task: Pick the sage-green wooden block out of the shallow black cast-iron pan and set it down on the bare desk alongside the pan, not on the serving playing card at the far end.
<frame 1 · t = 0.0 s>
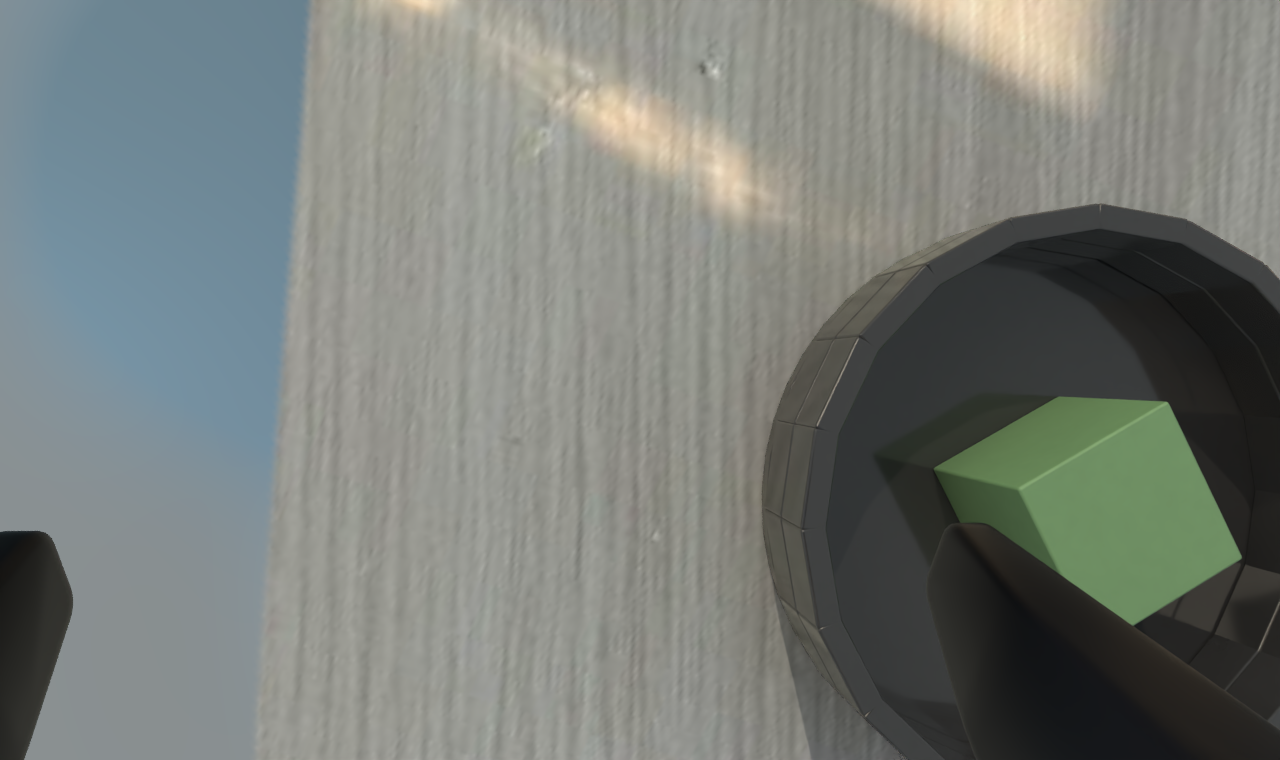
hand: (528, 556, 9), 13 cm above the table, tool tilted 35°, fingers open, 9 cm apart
pan: (1018, 495, 24), on the table
block: (1076, 510, 21), in the pan
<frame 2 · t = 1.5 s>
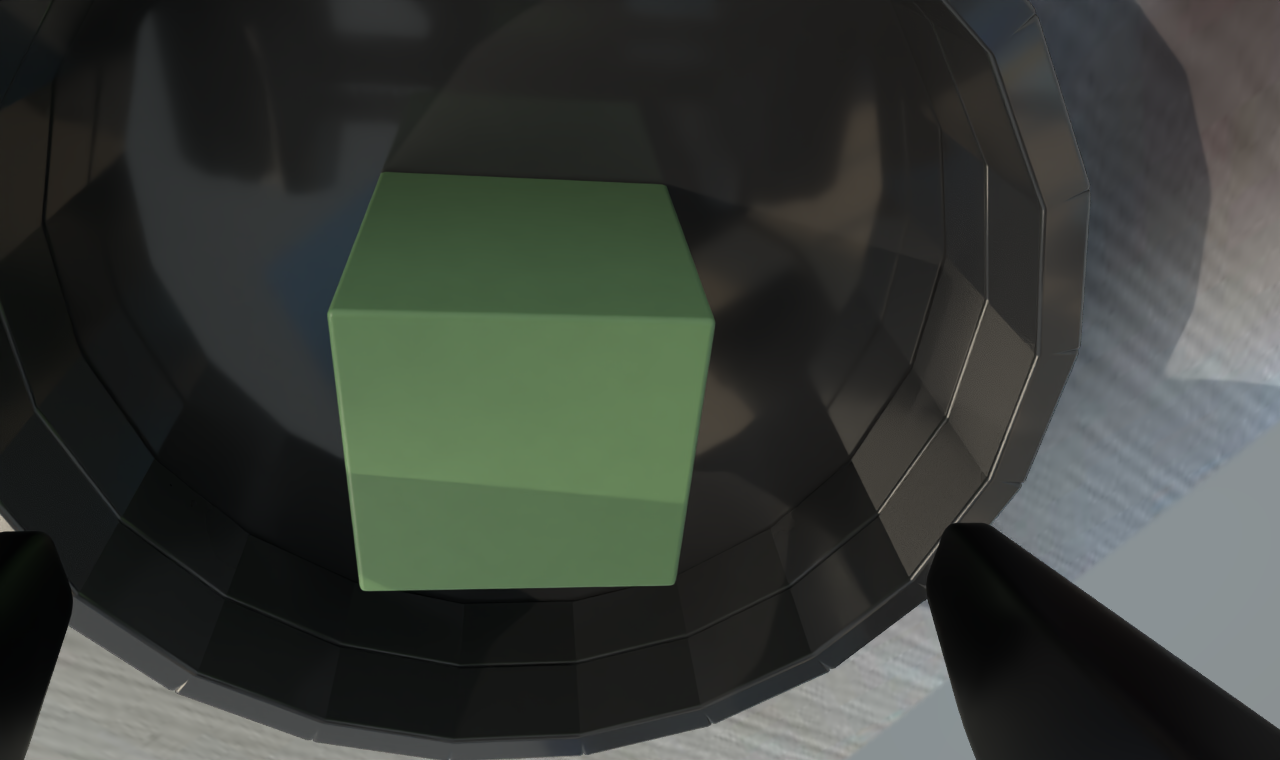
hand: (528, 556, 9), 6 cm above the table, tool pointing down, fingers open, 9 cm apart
pan: (524, 287, 14), on the table
block: (524, 373, 12), in the pan
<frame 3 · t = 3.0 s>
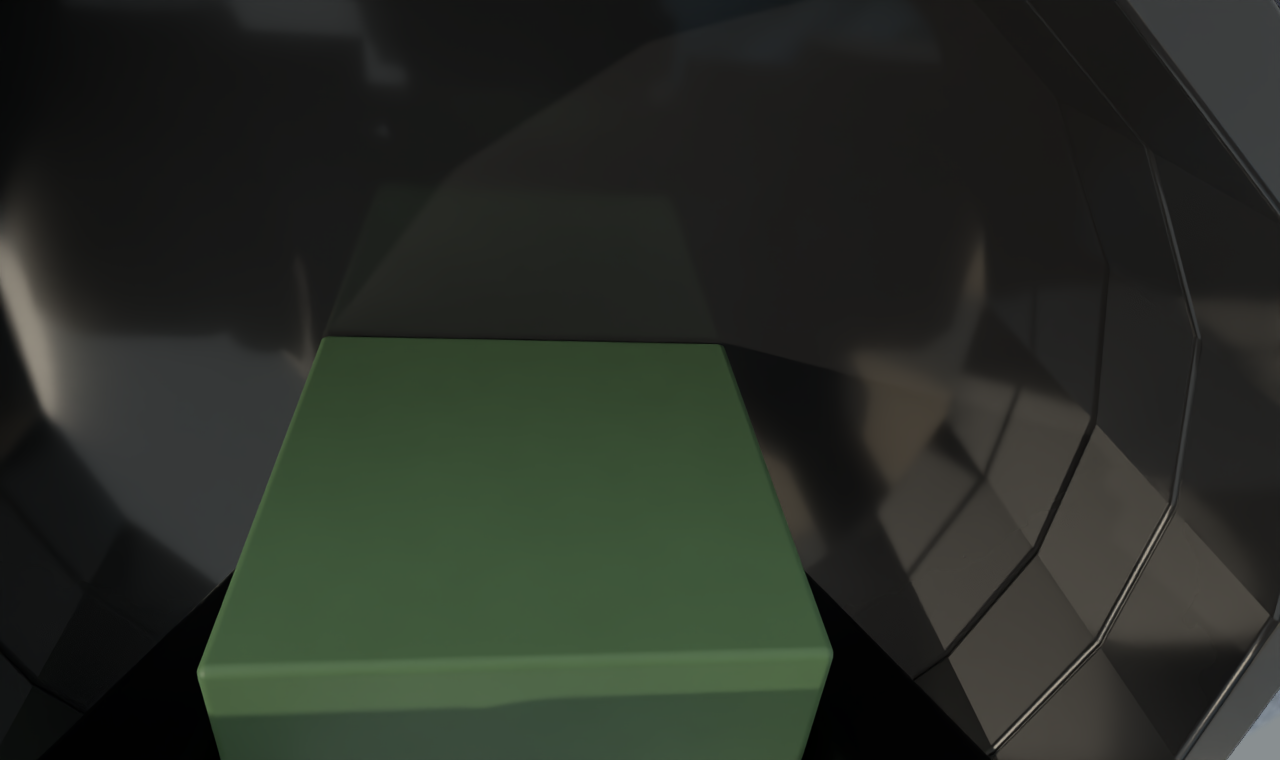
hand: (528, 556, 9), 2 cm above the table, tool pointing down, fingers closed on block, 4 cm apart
pan: (526, 462, 10), on the table
block: (525, 630, 8), in the pan, touching gripper
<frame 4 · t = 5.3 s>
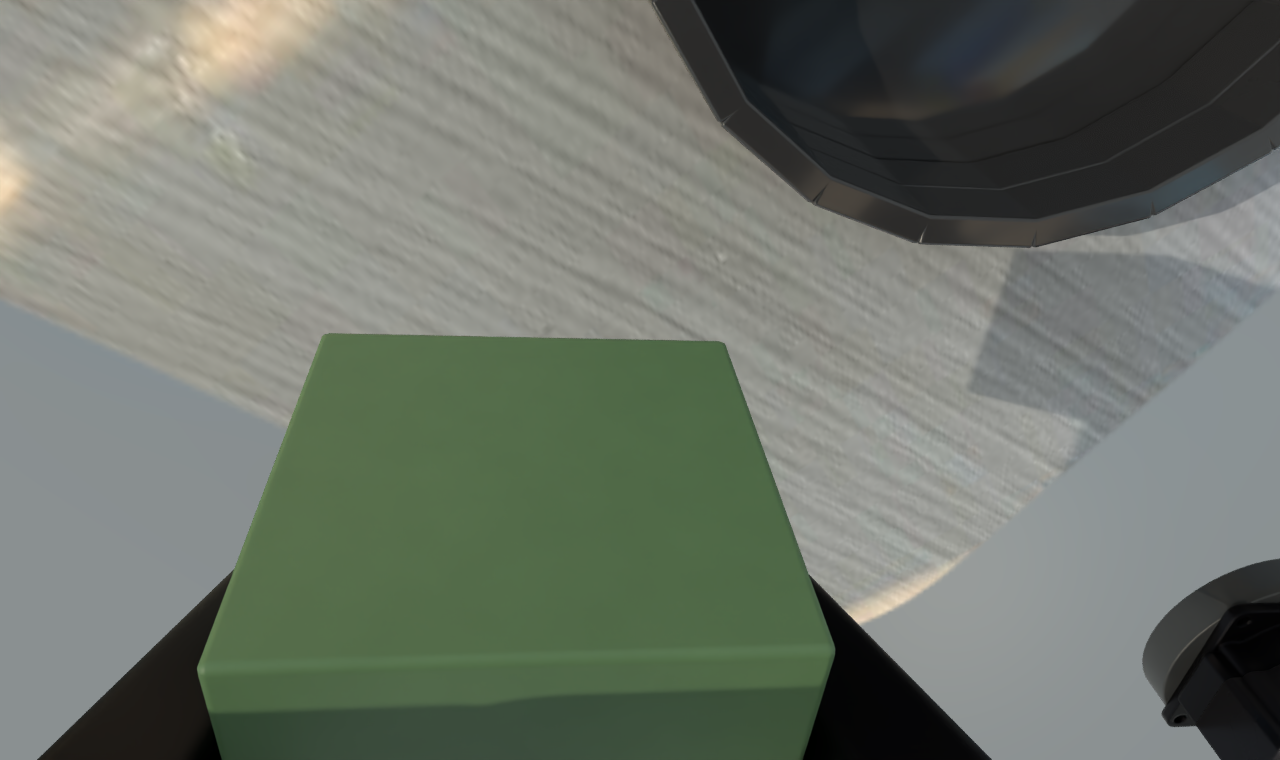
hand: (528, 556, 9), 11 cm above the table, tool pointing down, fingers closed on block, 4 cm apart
block: (526, 628, 8), point 12 cm above the table, touching gripper
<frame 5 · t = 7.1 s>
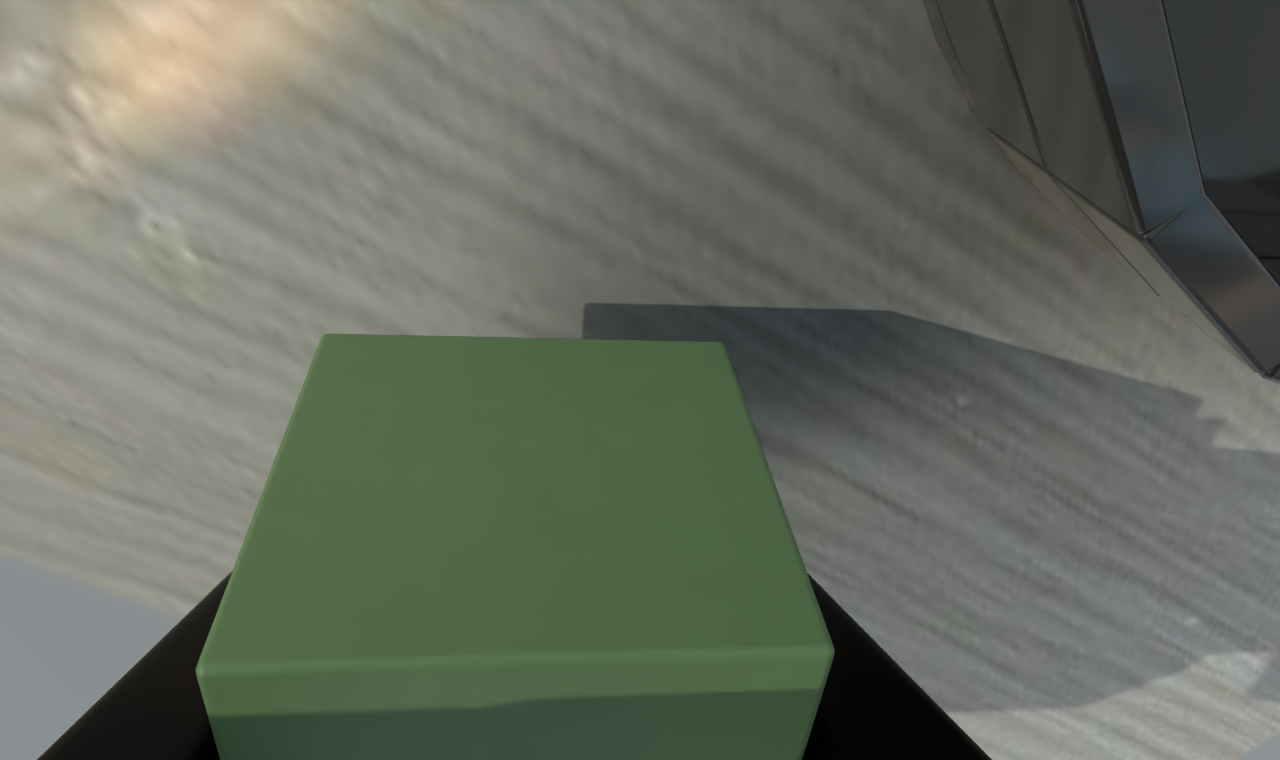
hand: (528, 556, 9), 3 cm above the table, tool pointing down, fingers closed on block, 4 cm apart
block: (525, 629, 8), point 4 cm above the table, touching gripper
when the fingers open (1 cm above the table, at t = 8.1 s): block stays where it is, on the table.
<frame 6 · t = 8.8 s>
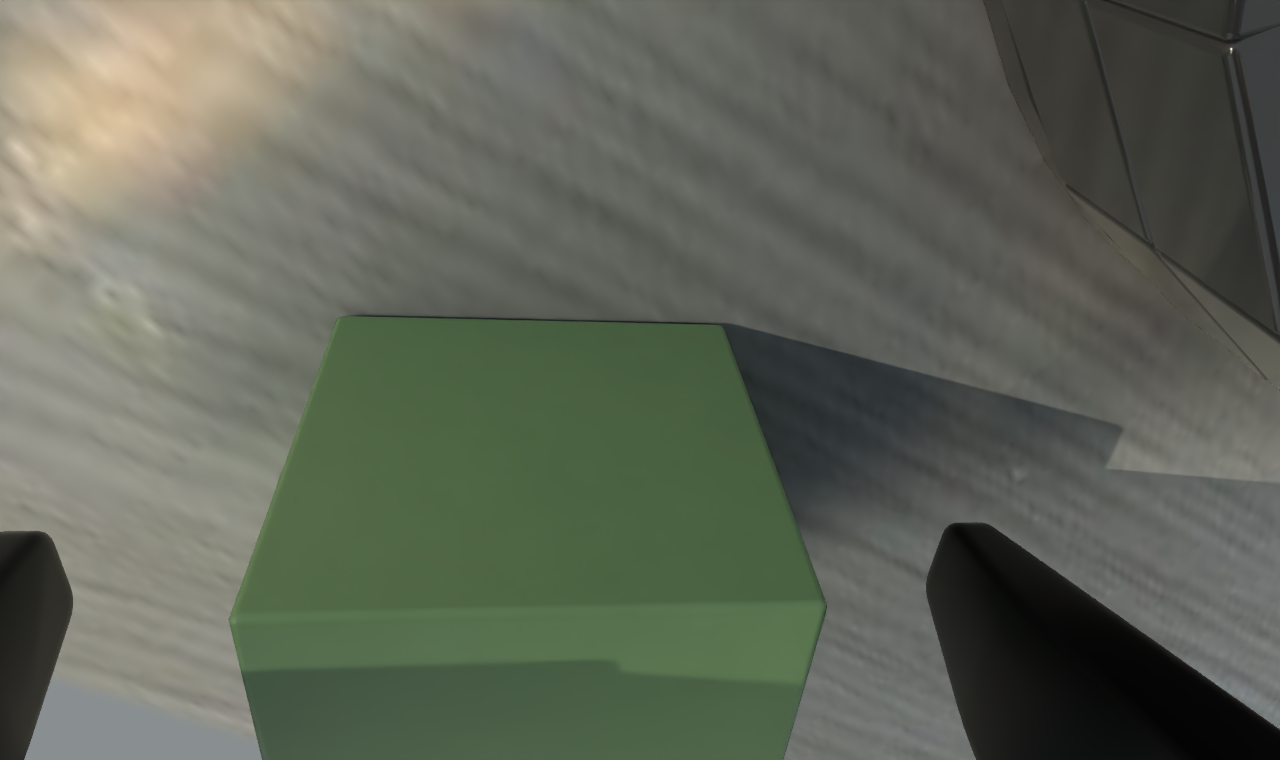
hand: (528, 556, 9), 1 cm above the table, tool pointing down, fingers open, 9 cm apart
block: (533, 597, 9), on the table
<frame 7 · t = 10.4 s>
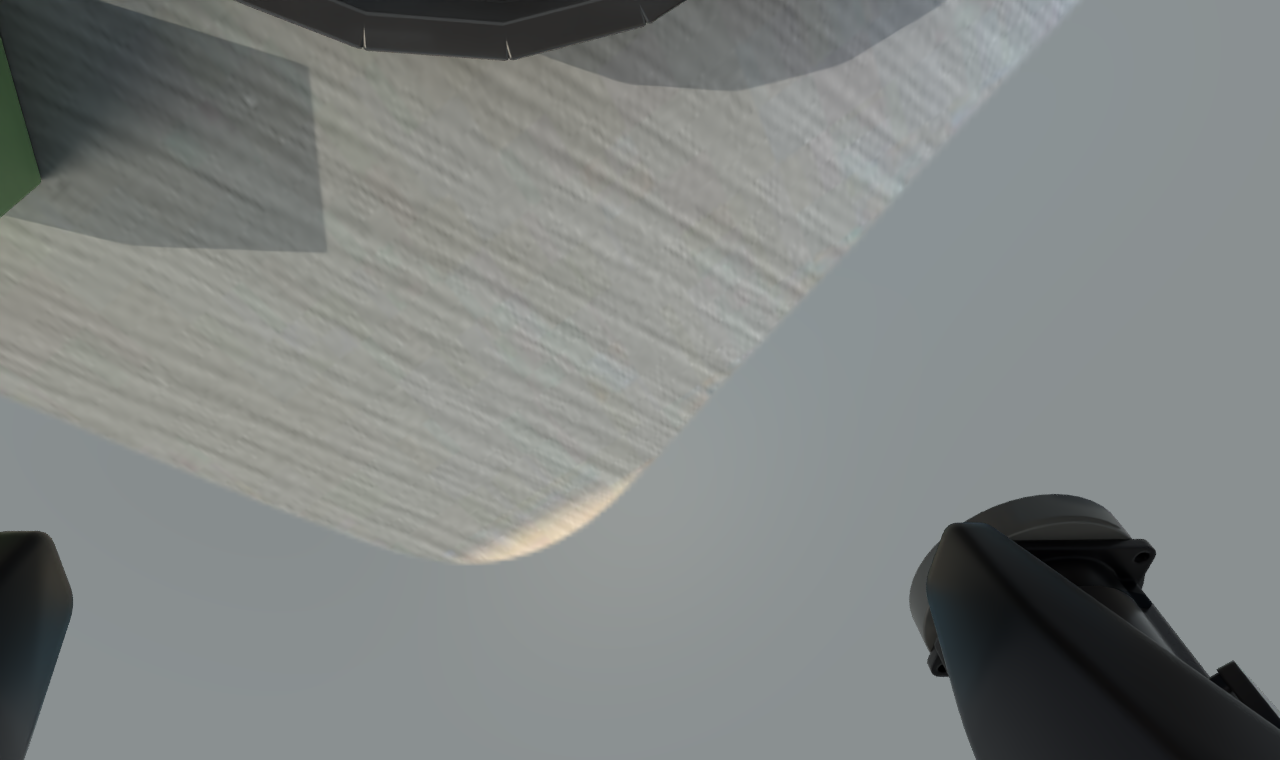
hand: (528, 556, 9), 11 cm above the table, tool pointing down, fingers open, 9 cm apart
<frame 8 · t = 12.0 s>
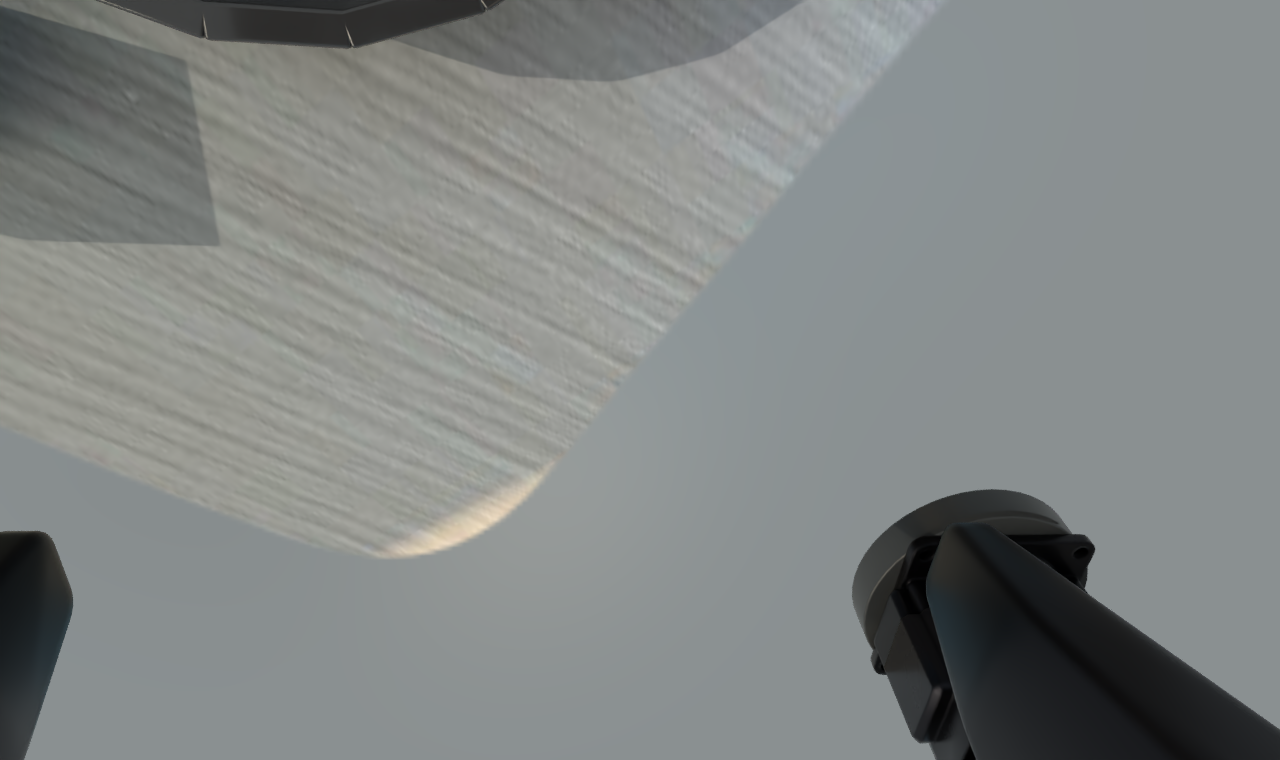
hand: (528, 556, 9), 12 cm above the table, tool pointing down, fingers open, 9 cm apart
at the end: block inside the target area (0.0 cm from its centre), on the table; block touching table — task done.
